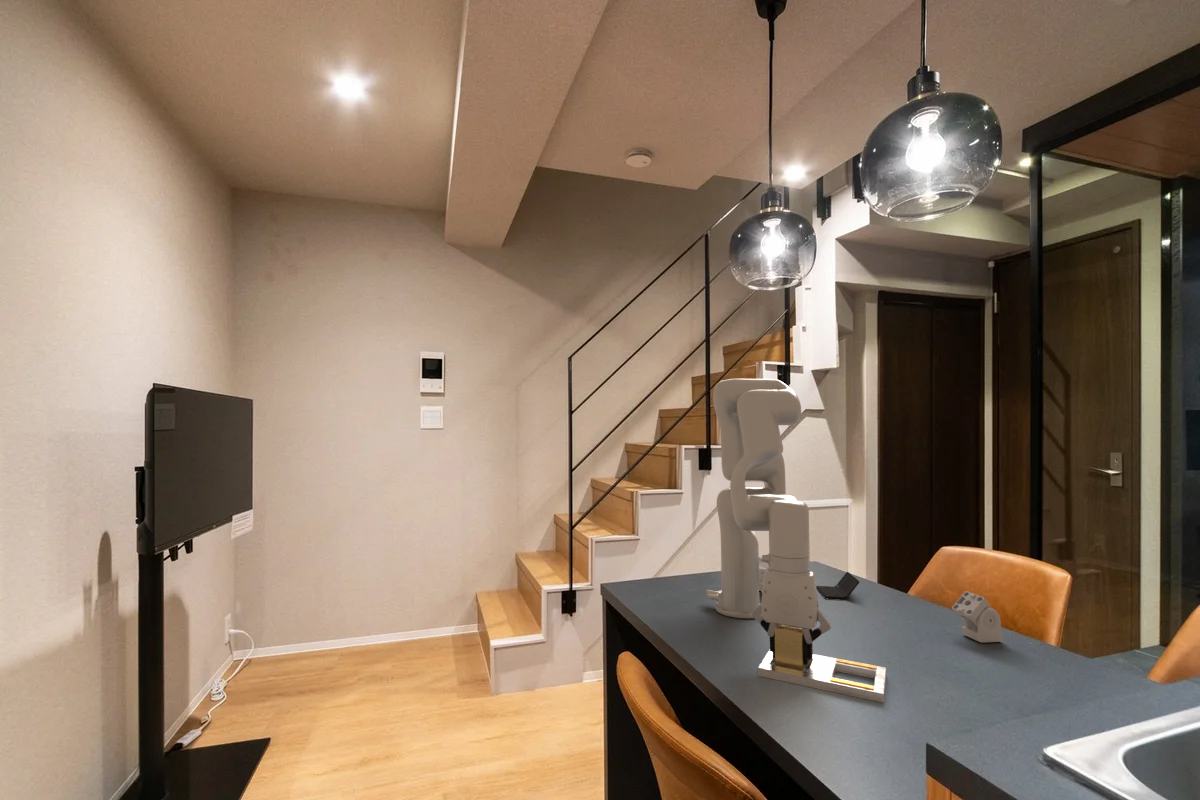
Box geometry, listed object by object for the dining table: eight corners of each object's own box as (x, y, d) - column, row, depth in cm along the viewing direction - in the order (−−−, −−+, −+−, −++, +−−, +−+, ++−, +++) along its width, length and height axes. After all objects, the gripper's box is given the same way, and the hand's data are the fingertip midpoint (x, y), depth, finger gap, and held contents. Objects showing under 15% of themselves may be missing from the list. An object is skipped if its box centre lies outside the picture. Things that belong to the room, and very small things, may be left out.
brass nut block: (775, 670, 104) (774, 628, 105) (780, 661, 109) (779, 620, 109) (802, 676, 102) (801, 632, 102) (807, 666, 106) (806, 624, 107)
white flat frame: (758, 675, 102) (758, 666, 102) (772, 653, 113) (771, 645, 113) (883, 702, 92) (883, 692, 92) (886, 675, 102) (885, 666, 103)
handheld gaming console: (809, 583, 161) (830, 557, 161) (827, 597, 162) (849, 572, 161) (824, 600, 150) (848, 572, 149) (844, 616, 150) (868, 588, 150)
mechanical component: (1003, 643, 119) (1000, 596, 120) (970, 644, 118) (968, 597, 119) (983, 634, 124) (981, 589, 125) (951, 635, 123) (950, 590, 124)
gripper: (741, 562, 107) (742, 657, 106) (834, 573, 99) (836, 676, 98) (750, 555, 114) (751, 644, 113) (838, 565, 106) (840, 661, 105)
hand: (791, 658), depth 105 cm, fingers closed on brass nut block, 5 cm apart
